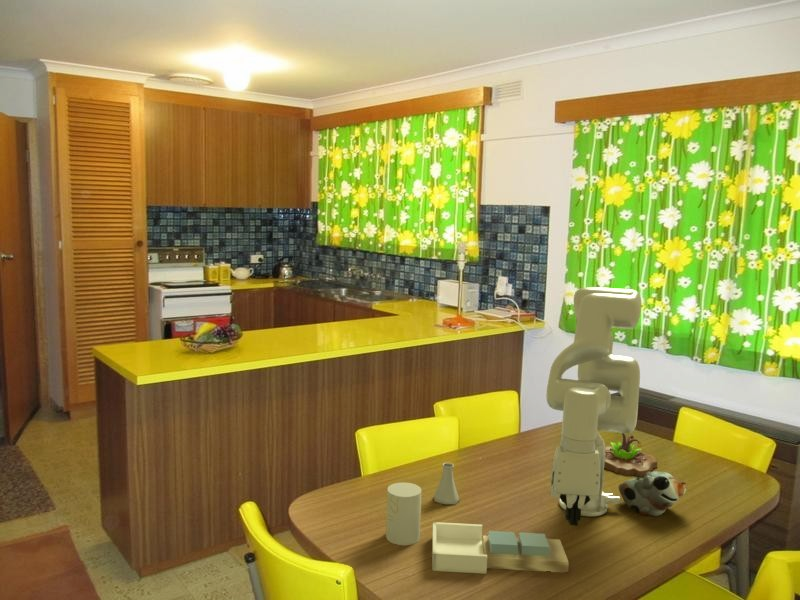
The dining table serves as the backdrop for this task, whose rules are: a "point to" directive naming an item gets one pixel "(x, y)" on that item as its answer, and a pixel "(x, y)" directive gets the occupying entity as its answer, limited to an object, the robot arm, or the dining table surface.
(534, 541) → the tile
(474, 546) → the tray
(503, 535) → the tile
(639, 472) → the plant
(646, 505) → the grey toy figure
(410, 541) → the grey cylinder
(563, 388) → the robot arm
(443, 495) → the flask
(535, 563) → the board
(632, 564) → the dining table surface
